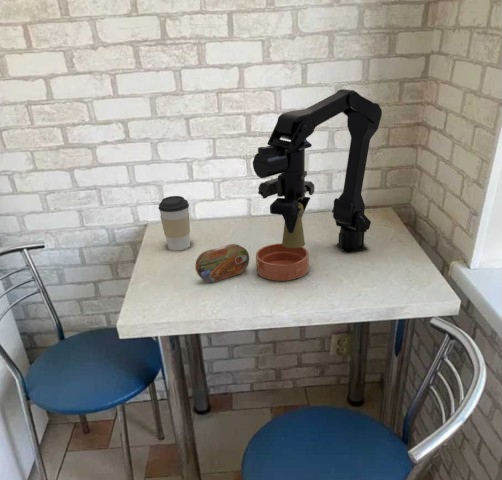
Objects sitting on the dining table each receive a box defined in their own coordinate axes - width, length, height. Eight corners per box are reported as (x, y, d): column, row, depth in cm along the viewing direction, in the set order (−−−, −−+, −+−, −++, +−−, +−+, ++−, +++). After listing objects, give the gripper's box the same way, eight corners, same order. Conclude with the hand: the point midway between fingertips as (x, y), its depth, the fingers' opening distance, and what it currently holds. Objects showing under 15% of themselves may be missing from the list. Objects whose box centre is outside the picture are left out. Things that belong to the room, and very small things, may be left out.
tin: (200, 285, 140) (196, 256, 136) (195, 281, 143) (192, 252, 138) (250, 271, 146) (249, 243, 141) (245, 267, 148) (243, 239, 144)
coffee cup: (158, 250, 162) (151, 202, 154) (173, 238, 169) (166, 192, 160) (185, 253, 159) (178, 204, 150) (198, 241, 166) (193, 194, 157)
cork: (303, 248, 137) (303, 207, 131) (280, 247, 138) (279, 206, 132) (306, 239, 142) (306, 199, 136) (283, 238, 143) (283, 198, 137)
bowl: (296, 256, 153) (296, 239, 150) (316, 276, 142) (317, 259, 139) (249, 264, 150) (249, 248, 147) (266, 286, 138) (266, 269, 136)
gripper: (274, 157, 139) (275, 214, 148) (248, 178, 125) (251, 240, 133) (315, 159, 136) (314, 218, 144) (293, 181, 121) (294, 244, 130)
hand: (293, 229), depth 138 cm, fingers closed on cork, 4 cm apart
